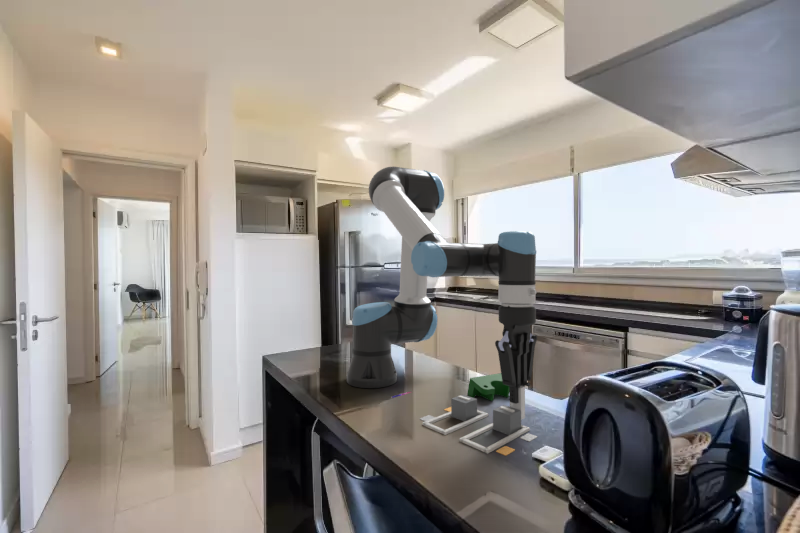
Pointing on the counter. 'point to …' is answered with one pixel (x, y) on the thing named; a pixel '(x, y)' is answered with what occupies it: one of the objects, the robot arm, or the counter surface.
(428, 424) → the switch board
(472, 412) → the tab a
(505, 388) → the green notched bracket
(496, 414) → the grey cube
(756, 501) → the counter surface
